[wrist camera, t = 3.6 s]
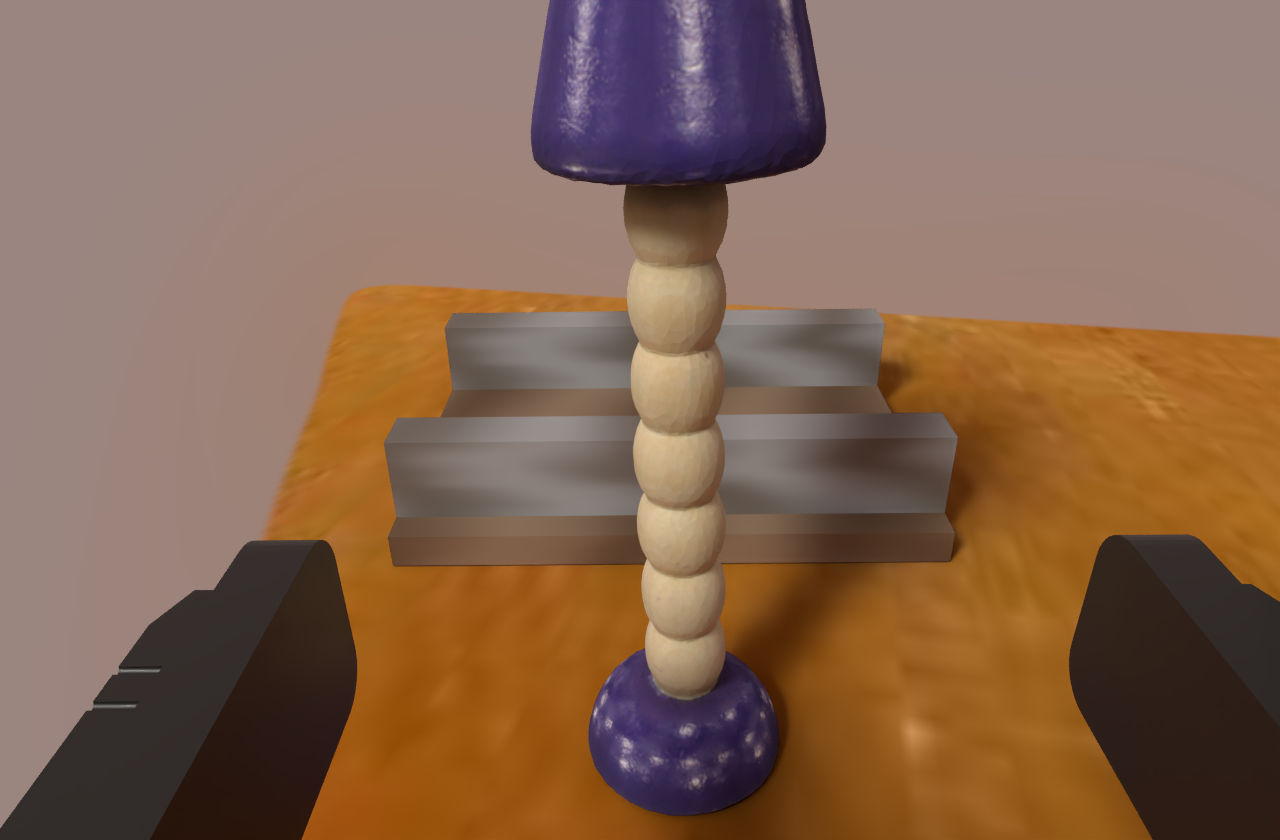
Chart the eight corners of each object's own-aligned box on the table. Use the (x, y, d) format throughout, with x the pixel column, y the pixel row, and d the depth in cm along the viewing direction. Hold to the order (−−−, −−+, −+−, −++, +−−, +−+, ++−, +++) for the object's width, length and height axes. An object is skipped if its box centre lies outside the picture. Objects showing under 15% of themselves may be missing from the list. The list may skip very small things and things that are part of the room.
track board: (860, 381, 36) (869, 299, 34) (949, 561, 25) (969, 455, 24) (467, 384, 36) (457, 303, 34) (393, 565, 26) (374, 461, 24)
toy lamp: (530, 752, 20) (438, -141, 12) (641, 629, 23) (629, -122, 15) (724, 854, 17) (772, -169, 9) (815, 701, 21) (906, -139, 13)
